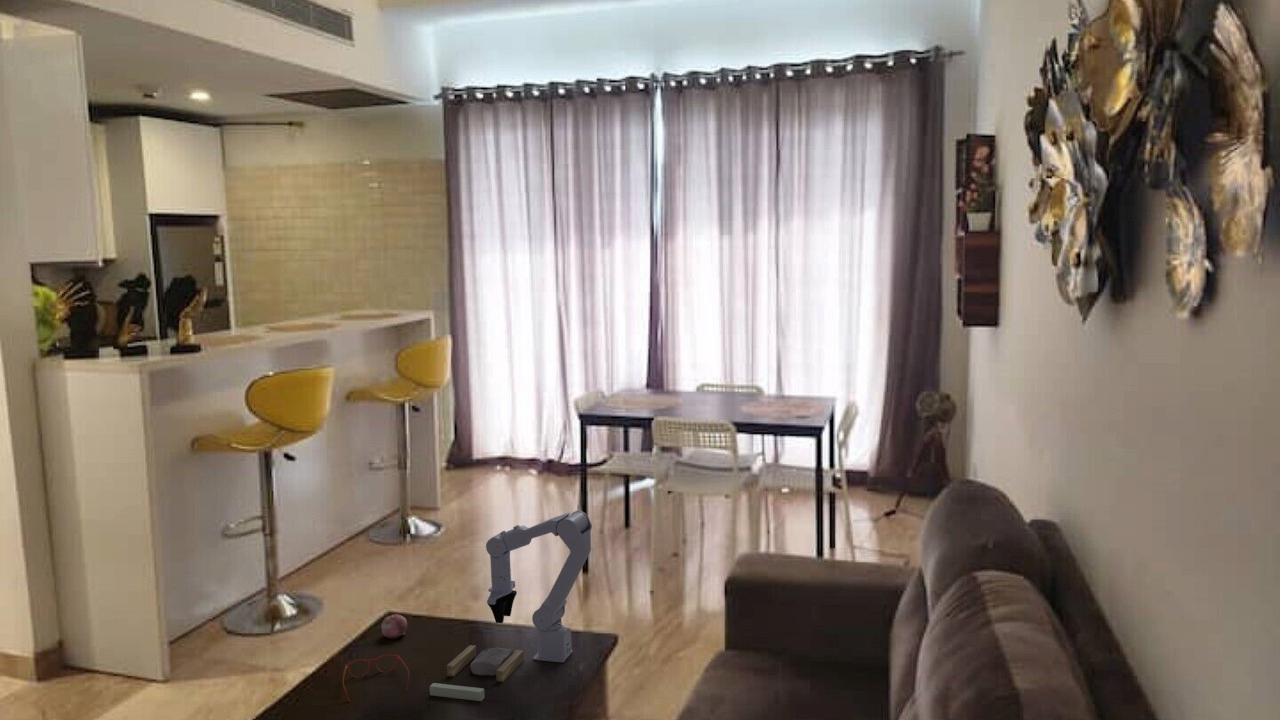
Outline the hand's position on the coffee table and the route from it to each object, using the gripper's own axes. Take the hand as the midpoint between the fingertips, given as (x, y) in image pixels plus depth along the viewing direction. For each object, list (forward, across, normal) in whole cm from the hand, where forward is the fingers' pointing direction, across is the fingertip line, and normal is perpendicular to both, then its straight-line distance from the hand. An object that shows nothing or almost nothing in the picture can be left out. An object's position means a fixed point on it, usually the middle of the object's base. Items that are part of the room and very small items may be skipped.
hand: (503, 619), depth 274 cm
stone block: (+10, +11, +1) cm, 15 cm away
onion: (+10, -2, -38) cm, 39 cm away
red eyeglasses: (+10, +28, -26) cm, 40 cm away
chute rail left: (+9, +12, -8) cm, 17 cm away
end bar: (+9, +30, 0) cm, 31 cm away
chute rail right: (+9, +12, +8) cm, 17 cm away
